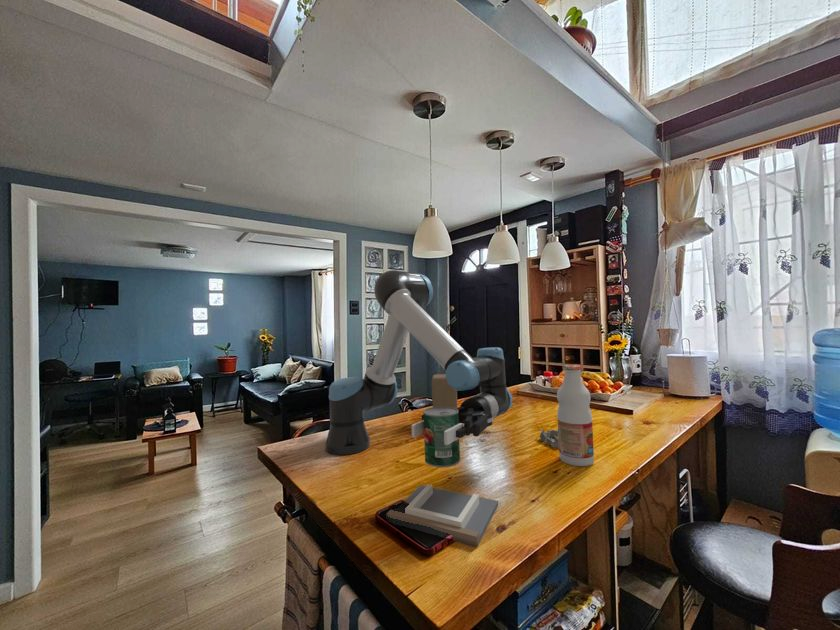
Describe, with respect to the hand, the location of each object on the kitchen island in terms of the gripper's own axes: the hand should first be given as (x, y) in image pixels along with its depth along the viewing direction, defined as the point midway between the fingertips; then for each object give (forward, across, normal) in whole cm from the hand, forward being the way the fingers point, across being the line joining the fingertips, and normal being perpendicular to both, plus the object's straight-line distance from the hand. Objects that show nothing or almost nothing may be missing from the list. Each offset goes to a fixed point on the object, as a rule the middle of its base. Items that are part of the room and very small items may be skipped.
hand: (428, 434), depth 72 cm
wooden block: (-60, +35, -19) cm, 72 cm away
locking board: (-5, 0, -19) cm, 19 cm away
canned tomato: (-5, 0, -7) cm, 9 cm away
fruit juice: (-49, -18, -19) cm, 56 cm away
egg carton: (-61, -8, -19) cm, 65 cm away
